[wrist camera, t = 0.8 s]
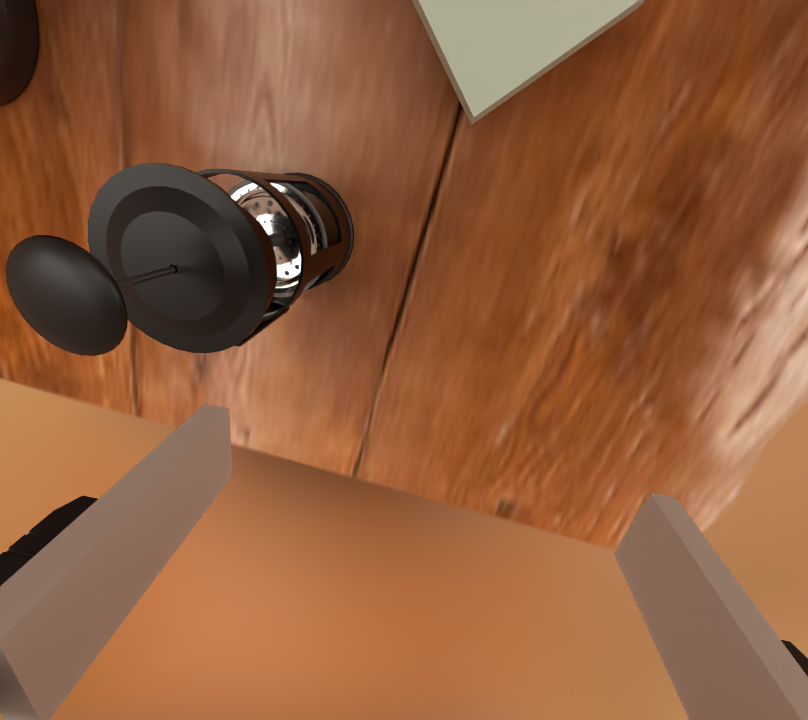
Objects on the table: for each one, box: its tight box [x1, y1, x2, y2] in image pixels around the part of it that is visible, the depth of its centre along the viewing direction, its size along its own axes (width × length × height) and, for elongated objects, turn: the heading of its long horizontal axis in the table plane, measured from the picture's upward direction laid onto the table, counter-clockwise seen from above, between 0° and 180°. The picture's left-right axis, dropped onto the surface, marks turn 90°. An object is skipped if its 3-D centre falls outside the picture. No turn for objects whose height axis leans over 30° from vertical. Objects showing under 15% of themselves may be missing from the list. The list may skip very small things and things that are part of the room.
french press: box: [6, 163, 354, 356], centre depth 23 cm, size 12×9×23 cm
